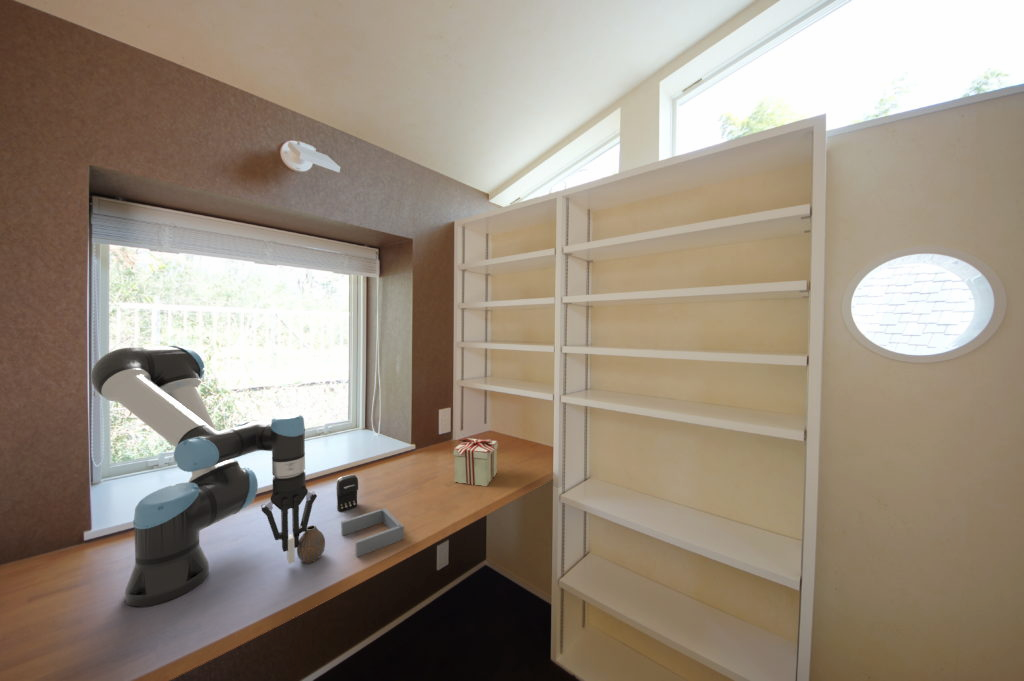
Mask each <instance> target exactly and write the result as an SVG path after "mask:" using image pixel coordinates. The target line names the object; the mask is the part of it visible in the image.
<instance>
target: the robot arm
mask: <svg viewBox="0 0 1024 681" xmlns="http://www.w3.org/2000/svg"><path fill="white" fill-rule="evenodd" d="M94 364H95V365H94V366H93V367H92V370H91V372H90V373H91V374H90V378H91V379H90V380H91V384H92V386H93V388H94V389H95V390H96V392H97V393H98V394H99V395H101V396H102V397H103V398H104V399H106V400H107V401H110V402H117V403H119V404H120V405H121V406H123V408H125V409H127V410H128V411H129V412H130V413H132V414H133V415H134V416H136V417H137V418H138V419H139V420H141V422H143V423H144V424H146V425H147V426H148V427H149V428H151V429H152V430H153V431H154V432H156V433H157V434H158V435H159V436H161V438H163V439H165V440H166V441H167V442H168V443H169V444H171V445H172V446H173V447H175V449H174V451H173V458H174V462H175V463H177V467H178V469H179V470H182V471H184V472H187V473H191V477H190V478H189V480H188V482H181V483H177V484H175V485H174V484H173V485H168V486H165V487H163V488H160V489H157V490H156V491H153V492H151V493H149V494H148V495H146V496H145V497H143V498H141V500H139V502H138V504H137V505H136V506H135V508H134V516H133V520H132V521H133V522H132V525H133V528H134V554H135V555H134V556H135V557H134V558H135V560H134V567H133V569H132V572H131V574H130V577H129V580H128V582H127V585H126V588H125V592H124V597H125V599H124V600H125V601H126V602H125V603H126V605H128V604H129V605H128V606H130V605H132V606H131V607H134V606H144V607H149V606H154V605H158V604H162V603H165V602H168V601H171V600H173V599H174V600H175V599H176V598H178V597H181V596H182V595H185V594H186V593H188V592H190V591H192V590H193V589H195V588H196V587H198V586H199V585H200V584H201V583H203V581H205V579H206V578H207V577H208V575H209V573H210V569H209V568H210V566H209V560H208V558H207V557H206V555H205V553H204V550H203V549H202V547H201V544H200V531H202V530H203V529H205V528H208V527H210V526H212V525H214V524H215V523H218V522H220V521H223V520H224V519H226V518H228V517H230V516H233V515H236V514H237V513H240V511H242V510H243V509H246V508H247V507H249V506H250V505H251V504H252V503H253V502H254V500H255V498H256V496H257V493H258V489H259V488H258V487H259V486H258V485H259V484H258V479H257V475H256V473H255V472H254V471H253V470H252V469H250V468H249V467H246V466H245V467H244V466H242V467H241V466H240V464H239V461H238V460H236V458H239V457H242V456H246V455H247V454H251V453H254V452H257V451H266V452H271V454H272V455H271V456H272V457H271V460H272V461H271V465H272V466H271V467H272V473H271V474H272V476H273V477H272V494H271V496H270V500H269V501H267V502H266V503H263V504H261V506H260V509H261V512H263V514H264V515H265V516H266V518H267V521H268V523H269V526H270V529H271V532H272V535H273V538H274V540H275V541H278V540H281V549H282V551H283V552H286V559H287V563H288V565H290V564H292V563H295V562H296V561H295V560H296V559H295V558H296V556H295V552H296V551H295V549H297V547H298V546H299V539H300V534H303V533H304V532H305V531H306V529H307V527H308V526H309V525H308V524H309V521H310V516H311V512H312V508H313V505H314V503H315V501H316V500H317V497H318V495H317V494H316V492H315V491H309V490H308V488H307V486H306V471H305V470H306V452H305V448H306V447H305V444H306V443H305V441H306V440H305V439H306V438H305V435H306V428H305V427H306V426H305V419H304V416H303V415H301V414H296V413H294V414H283V415H278V416H274V417H273V418H272V419H271V421H260V420H248V421H247V420H245V421H242V422H239V424H238V425H236V426H235V427H232V428H228V429H223V430H219V431H218V430H217V429H216V427H215V424H214V423H213V420H212V418H211V416H210V413H209V411H208V409H207V406H206V404H205V402H204V401H203V398H202V395H201V393H200V392H199V389H198V388H199V386H200V385H201V384H202V380H201V379H202V378H203V376H204V374H205V370H204V368H205V363H204V360H203V358H202V356H201V355H200V354H199V352H197V351H196V350H194V349H193V348H192V347H188V346H177V345H168V346H155V347H153V346H150V347H149V346H148V347H145V346H144V347H122V348H118V349H115V350H113V351H110V352H108V353H106V354H104V355H103V356H102V357H101V358H99V360H98V361H96V362H95V363H94ZM304 499H305V503H304V504H305V505H304V508H303V514H302V518H301V519H300V513H299V512H300V505H301V504H302V502H303V500H304ZM273 505H274V506H275V507H276V508H278V510H280V512H281V513H280V514H281V515H280V516H281V518H280V519H281V520H280V524H281V526H280V528H281V532H280V531H279V529H278V526H277V523H276V521H275V517H274V514H273V512H272V510H273V509H274V507H273ZM290 509H291V515H292V516H291V517H292V518H291V519H292V520H291V521H292V524H291V525H292V528H291V530H292V533H290V534H289V517H288V515H289V510H290ZM300 520H301V521H300Z"/></svg>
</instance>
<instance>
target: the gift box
mask: <svg viewBox="0 0 1024 681" xmlns="http://www.w3.org/2000/svg"><path fill="white" fill-rule="evenodd" d="M458 441H459V442H461V443H459V444H458V445H457V446H455V447H454V449H453V456H454V483H455V482H458V483H457V484H460V483H466V484H465V485H467V484H472V485H471V486H476V485H482V486H481V487H484V486H486V487H487V486H488V485H489V484H490V483H491V481H492V480H494V478H493V477H496V475H497V474H498V470H497V469H498V468H497V467H498V452H497V451H498V446H499V445H498V444H499V443H498V440H493V439H490V438H487V439H482V438H481V439H480V438H479V439H478V438H469V437H468V438H461V439H459V440H458ZM496 473H497V474H496ZM489 482H490V483H489Z"/></svg>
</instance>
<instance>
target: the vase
mask: <svg viewBox="0 0 1024 681" xmlns="http://www.w3.org/2000/svg"><path fill="white" fill-rule="evenodd" d="M325 549H326V539H325V536H324V534H323V532H322V531H321V530H319V529H318V528H317V526H316V525H310V526H309V525H308V526H307V529H306V531H305V532H303V533H302V535H301V537H299V546H298V547H297V548H296V553H297V558H298V559H299V560H300V561H301V562H303V563H305V564H311V563H314V562H316V561H317V560H318V559H320V558H321V556H323V554H324V551H325Z"/></svg>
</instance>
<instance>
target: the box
mask: <svg viewBox="0 0 1024 681" xmlns="http://www.w3.org/2000/svg"><path fill="white" fill-rule="evenodd" d="M381 523H383V525H385V526H386V528H387V529H386V530H383V531H381V532H378V533H374V534H372V535H369V536H365V537H363V538H361V539H358V540H355V556H356V558H358V557H360V556H363V555H367V554H368V553H372V552H373V551H376V550H379V549H381V548H384V547H387V546H389V545H391V544H395V543H398V542H400V541H402V540H404V535H405V533H404V528H405V527H404V525H403V524H402V523H401V522H400V521H399V520H398V519H397V518H396V517H395V516H394V515H393V514H392V513H391V512H390V511H389V510H388V509H387V508H386V507H383V508H380V509H377V510H373V511H370V512H367V513H364V514H360V515H358V516H354V517H351V518H348V519H345V520H342V521H341V522H340V525H341V527H340V528H341V529H340V532H341V533H340V534H341V536H345V535H348V534H352V533H354V532H357V531H361V530H363V529H366V528H369V527H373V526H375V525H378V524H381Z"/></svg>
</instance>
